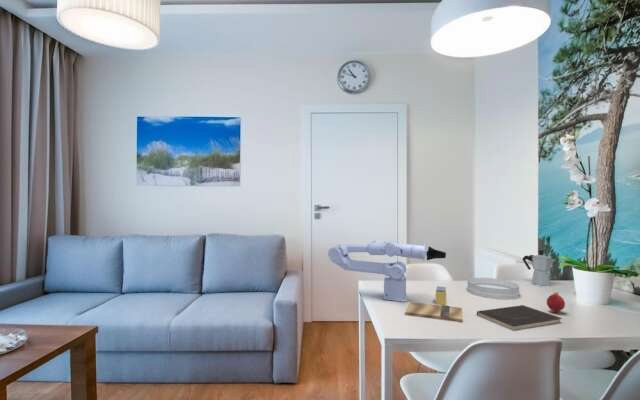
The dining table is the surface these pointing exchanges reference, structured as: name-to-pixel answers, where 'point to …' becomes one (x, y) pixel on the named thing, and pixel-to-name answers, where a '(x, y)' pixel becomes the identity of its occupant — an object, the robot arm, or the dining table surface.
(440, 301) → the block
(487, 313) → the hardcover book
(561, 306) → the onion
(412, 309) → the board
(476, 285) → the dish
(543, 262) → the coffee maker
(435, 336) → the dining table surface
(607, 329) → the dining table surface
